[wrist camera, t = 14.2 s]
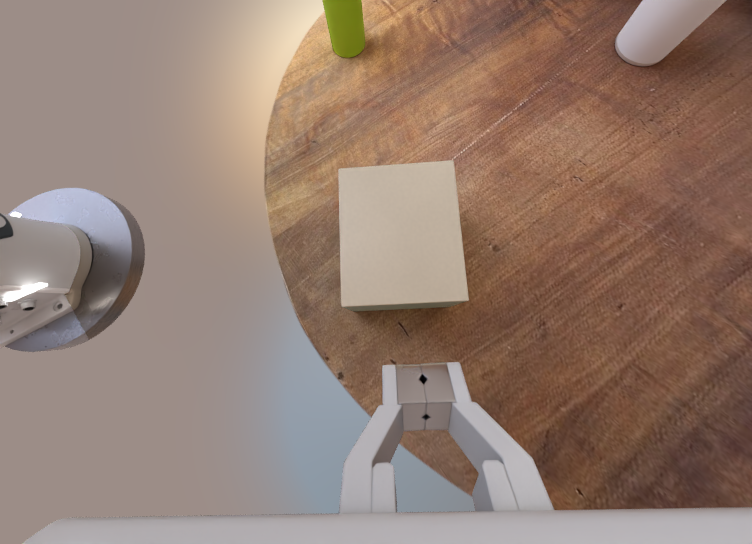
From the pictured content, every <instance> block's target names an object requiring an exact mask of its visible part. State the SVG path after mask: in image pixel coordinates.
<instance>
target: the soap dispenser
mask: <svg viewBox="0 0 752 544" xmlns="http://www.w3.org/2000/svg"><path fill="white" fill-rule="evenodd" d="M323 5H324V10H325V14H326V19H327V24H328V29H329V33H330V38H331V43H332V47H333V50H334V52H335V53H336V54H337V55H339V56H341V57H345V58H350V57H354V56H356V55H358V54H360V53H361V52H362V50H363V49H364V47H365V34H364V24H363V13H362V2H361V0H323Z"/></svg>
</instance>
